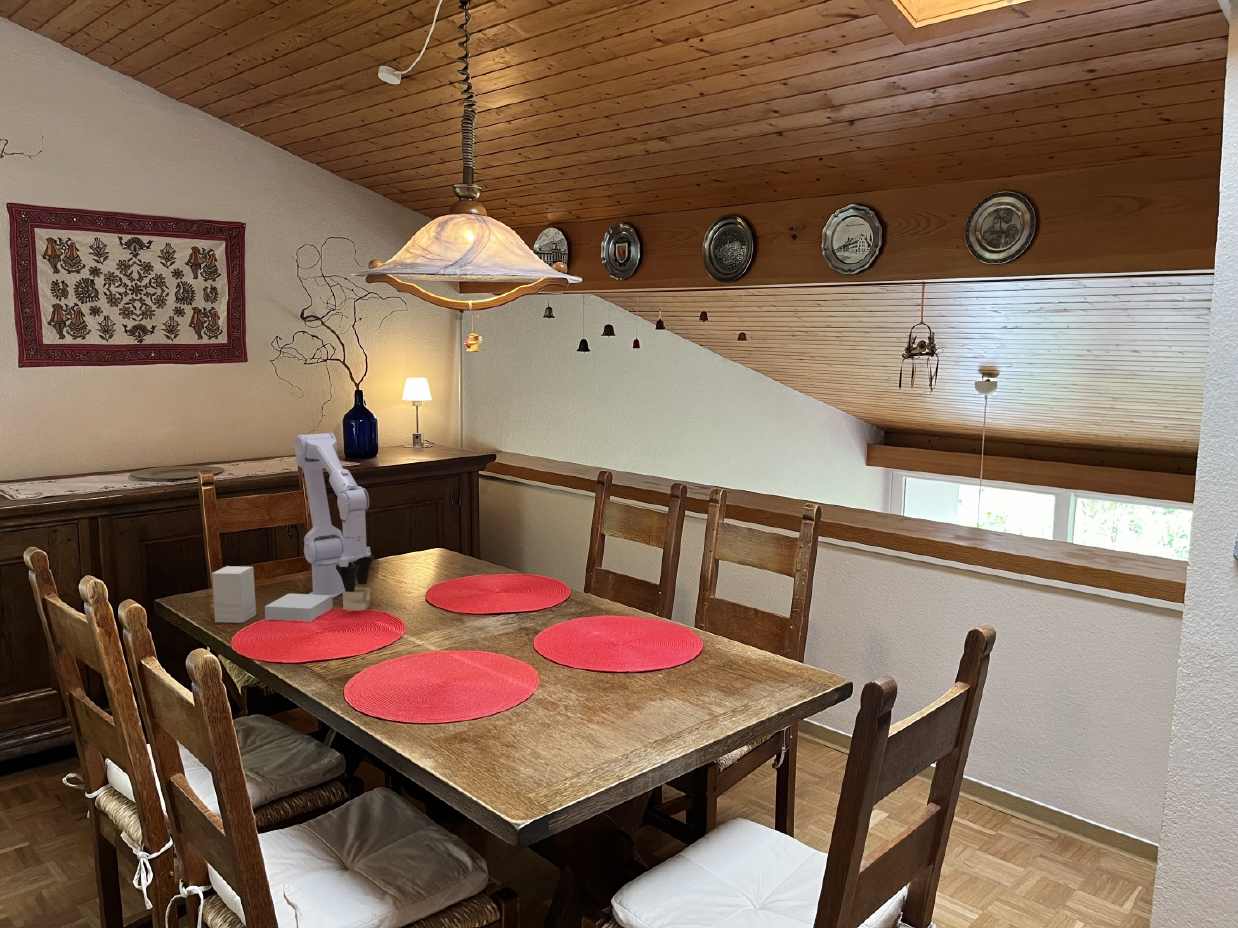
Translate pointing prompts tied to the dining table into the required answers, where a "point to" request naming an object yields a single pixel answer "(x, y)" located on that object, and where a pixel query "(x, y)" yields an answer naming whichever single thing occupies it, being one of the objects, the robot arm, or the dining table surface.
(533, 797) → the dining table surface
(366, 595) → the birch cube
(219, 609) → the supplement box
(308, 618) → the grey block
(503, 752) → the dining table surface
